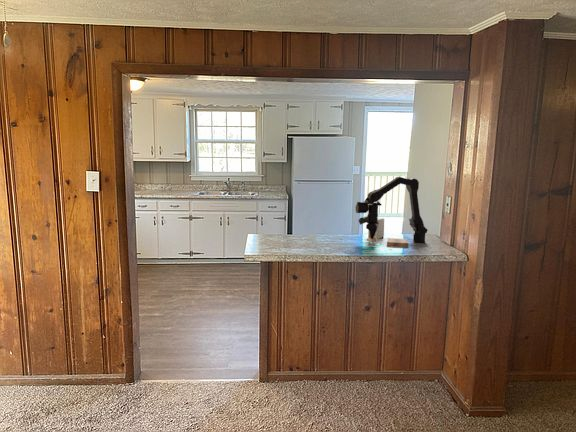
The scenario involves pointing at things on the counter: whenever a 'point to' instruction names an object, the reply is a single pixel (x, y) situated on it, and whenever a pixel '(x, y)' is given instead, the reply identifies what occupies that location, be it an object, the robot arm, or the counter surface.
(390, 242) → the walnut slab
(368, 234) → the maple cube
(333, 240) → the counter surface
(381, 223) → the supplement box
